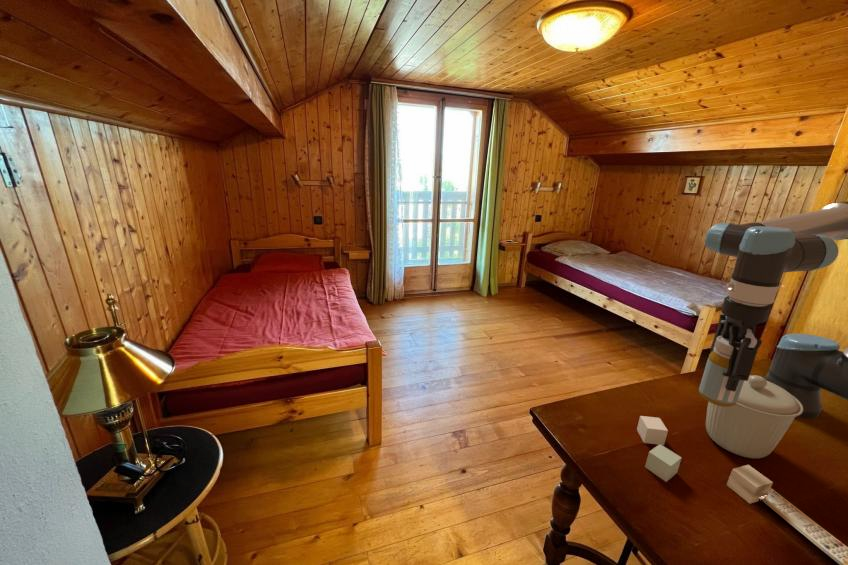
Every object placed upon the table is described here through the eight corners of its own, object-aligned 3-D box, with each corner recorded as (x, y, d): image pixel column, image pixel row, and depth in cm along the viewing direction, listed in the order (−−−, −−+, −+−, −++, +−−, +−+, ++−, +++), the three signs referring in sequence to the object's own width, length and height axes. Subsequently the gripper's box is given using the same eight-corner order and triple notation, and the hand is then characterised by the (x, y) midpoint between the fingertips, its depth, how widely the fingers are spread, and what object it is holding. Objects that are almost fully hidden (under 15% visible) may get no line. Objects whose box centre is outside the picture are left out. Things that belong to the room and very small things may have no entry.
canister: (707, 458, 90) (730, 390, 84) (685, 414, 106) (703, 353, 100) (797, 479, 84) (830, 407, 78) (759, 428, 101) (783, 365, 94)
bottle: (743, 410, 78) (763, 351, 74) (707, 406, 80) (725, 348, 75) (724, 391, 85) (742, 336, 80) (692, 387, 86) (707, 333, 81)
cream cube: (655, 432, 99) (659, 417, 98) (663, 445, 95) (668, 430, 93) (636, 430, 100) (640, 415, 99) (643, 443, 96) (647, 428, 94)
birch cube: (742, 480, 84) (748, 464, 83) (765, 498, 80) (772, 482, 78) (726, 485, 83) (732, 469, 81) (749, 504, 78) (756, 487, 77)
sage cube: (655, 459, 90) (659, 443, 89) (676, 473, 86) (681, 457, 85) (644, 467, 88) (649, 451, 86) (666, 482, 84) (670, 466, 82)
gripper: (710, 284, 84) (686, 368, 91) (746, 314, 67) (714, 413, 75) (748, 288, 81) (721, 373, 89) (797, 320, 65) (758, 421, 72)
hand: (718, 391), depth 82 cm, fingers closed on bottle, 6 cm apart
